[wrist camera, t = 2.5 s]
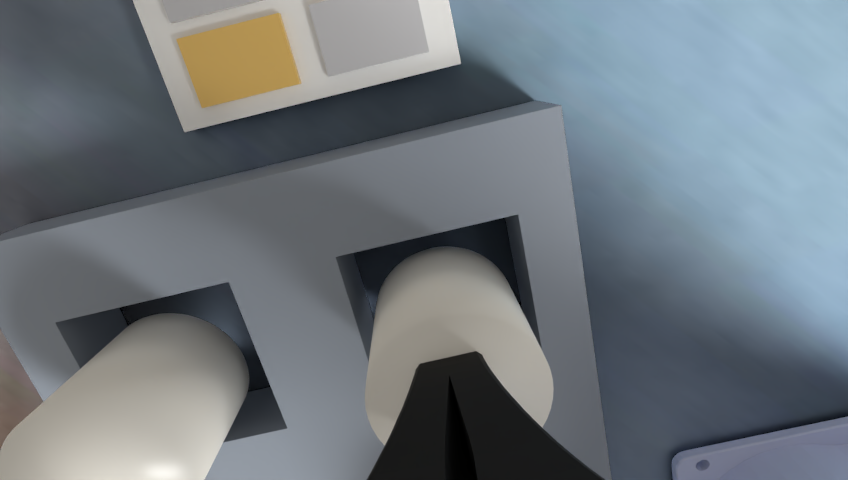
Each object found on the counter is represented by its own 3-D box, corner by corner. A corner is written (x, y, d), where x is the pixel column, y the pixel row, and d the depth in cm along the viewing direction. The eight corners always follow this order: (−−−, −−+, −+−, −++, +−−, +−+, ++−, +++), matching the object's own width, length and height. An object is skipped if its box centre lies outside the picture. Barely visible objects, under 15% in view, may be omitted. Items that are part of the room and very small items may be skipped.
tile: (418, -140, 12) (419, -155, 11) (458, 64, 14) (461, 63, 13) (120, -61, 13) (101, -70, 12) (193, 130, 14) (181, 132, 13)
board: (535, 100, 14) (561, 105, 12) (602, 538, 20) (628, 601, 18) (26, 224, 15) (-46, 252, 12) (233, 614, 21) (211, 683, 18)
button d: (220, 299, 13) (147, 386, 10) (268, 414, 15) (220, 531, 11) (84, 330, 14) (-40, 428, 10) (143, 441, 15) (54, 566, 11)
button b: (500, 232, 13) (538, 293, 9) (524, 354, 14) (565, 452, 11) (359, 264, 13) (341, 338, 10) (395, 382, 15) (391, 489, 11)
